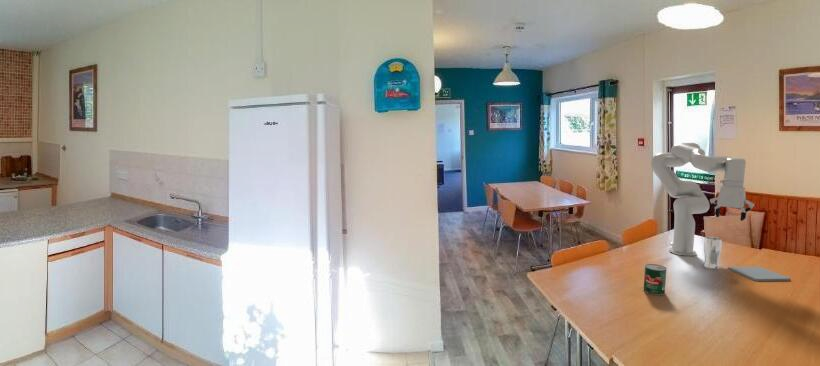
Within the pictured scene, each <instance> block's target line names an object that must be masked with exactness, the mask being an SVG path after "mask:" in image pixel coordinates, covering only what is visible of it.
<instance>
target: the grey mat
mask: <svg viewBox="0 0 820 366" xmlns="http://www.w3.org/2000/svg"><path fill="white" fill-rule="evenodd" d="M727 270H729V271H730V272H733V273H734V274H735V273H736V274H738V275H740V276H742V277H745V278H746V279H747V278H748V279H749V280H752V281H754V282H776V281H777V282H783V281H785V282H787V281H791V279H792V278H790V277H787V276H785V275H783V274H779V273H778V272H775V271H773V270H769V269H767V268H764V267H763V266H728V267H727Z"/></svg>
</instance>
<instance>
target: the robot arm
mask: <svg viewBox="0 0 820 366" xmlns="http://www.w3.org/2000/svg"><path fill="white" fill-rule="evenodd" d="M650 163H651V165H650V166H651V169H652V171H653V172H654V174H655V176H656V177H657V178H658V179H659V180H660V183H661V184H662V185H663V187H664V189H665V190H666V192H667V194H668V195H669V196H670V197H671V198H674V199H675V200H674V202H673V205H672V206H673V213H674V221H673V222H674V223H673V225H674V227H673V238H672V242H670V244H669V245H670V246H671V247H670V248H669V250H668V251H669V253H671V252H672V254H674V255H677V256H686V257H693V256H696V255H697V252H696V250H694V242H695V234H696V233H695V232H696V221H695V218H694V216H693V215H695V214H696V215H697V214H698V215H699V214H704V213H707V212H708V211H709V209H710V205H711V206H712V207H713V208H714V210H715V212H714V215H715V218H719V217H720V216H721V207H724V208H730V209H731V208H733V209H740V211H741V212H740V219H739V220H740V222H742V221H744V220H745V219H746V218H747V213H748V212H750V211H751V210H752V209H753V207H755V203H753V202H751V201H750V200H748V199H747V198H746V197H747V196H746V187H744V181H745V173H746V159H745V158H741V157H732V156H707V155H706V152H705V150H704V149H702V148H701V146H700V145H699V144H697V143H695V142H679V143H676V144H674V145H673V146H672V147H671V149H670V152H659V153H657V154H655V155H654V156H653V157H652V159H651V162H650ZM687 164H691V165H692V166H693V167H694V168H695V169H698V170H699V171H704V172H708V173H716V172H720V173H721V172H722V173H723V172H724V173H723V177H724V178H723V180H721V179H720V181H719V183H720V184H722V185H721V186H720V188H719V191H718V196H716V197H713V198H710V199H709V200H708V198H707V196H706V194H705V193H704V192H703V190H702V189H701V187H700V186H699V185H698V184H697V182H694V181H693V180H681V179H680V178H679V177H678V174H677V173H676V172H675V171H673V170H672V169H671V168H680V167H683V166H685V165H687ZM715 201H717V202H715ZM716 203H717V204H716ZM746 205H748V206H747V208H746V207H745V206H746Z"/></svg>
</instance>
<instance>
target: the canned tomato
mask: <svg viewBox="0 0 820 366" xmlns="http://www.w3.org/2000/svg"><path fill="white" fill-rule="evenodd" d="M666 280H667V267H666V266H664V265H661V264H656V263H648V264H645V265H644V279H643V289H644V290H643V292H644V291H646V292H648V293H651V294H650V295H652V294H655V295H654V296H663V295H665V294H666V292H665V291H666ZM646 292H645V293H646ZM648 293H647V294H648Z"/></svg>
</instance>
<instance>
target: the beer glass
mask: <svg viewBox="0 0 820 366" xmlns="http://www.w3.org/2000/svg"><path fill="white" fill-rule="evenodd" d="M722 243H723V242H722V238H721V237H718V236H710V235H709V236H705V237H704V243H703V253H704V262H703V267H704V268H705V269H710V270H719V259H720V255H721V252H722V246H723V245H722Z"/></svg>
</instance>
